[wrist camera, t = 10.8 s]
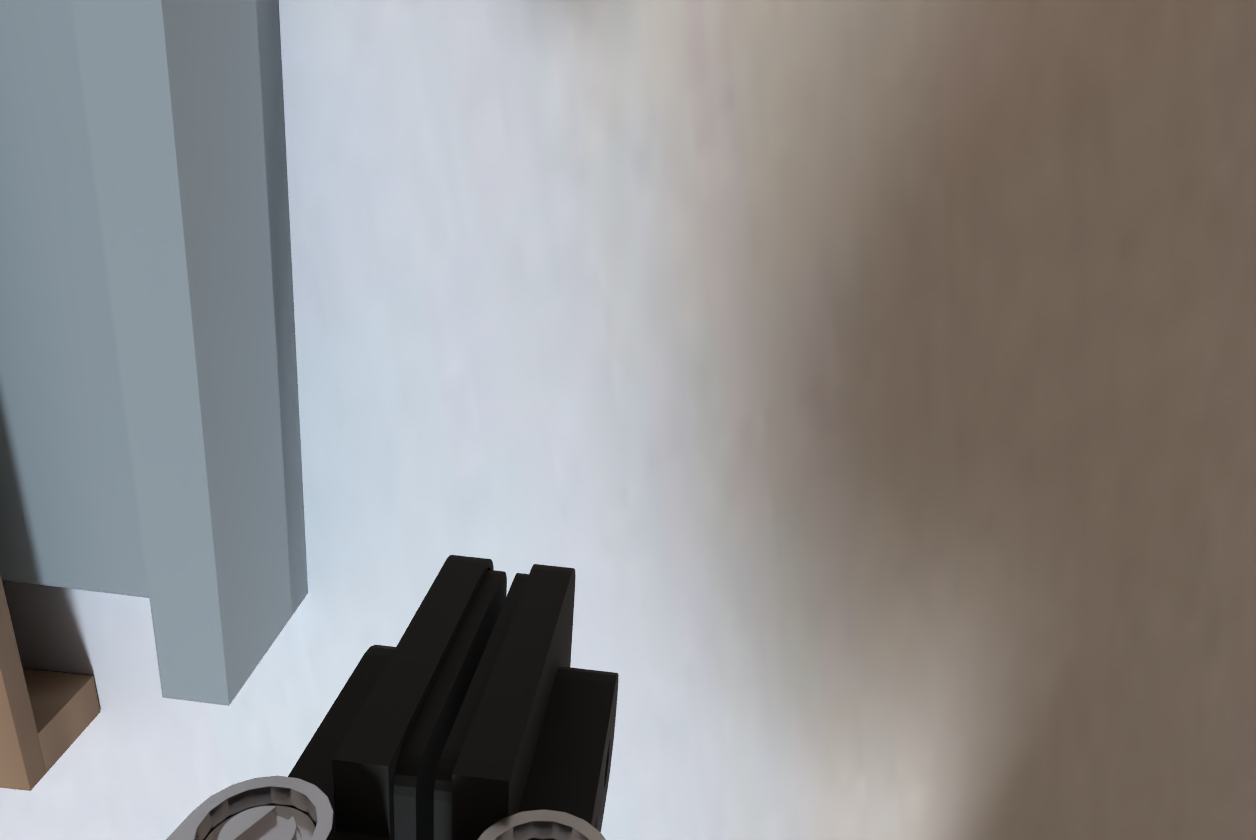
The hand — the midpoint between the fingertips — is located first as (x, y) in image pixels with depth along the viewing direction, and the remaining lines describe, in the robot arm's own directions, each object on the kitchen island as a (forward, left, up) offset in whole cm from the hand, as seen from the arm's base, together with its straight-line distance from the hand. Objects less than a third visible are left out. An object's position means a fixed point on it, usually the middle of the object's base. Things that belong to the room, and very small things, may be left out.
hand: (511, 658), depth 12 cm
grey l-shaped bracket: (+11, -2, -9) cm, 15 cm away
